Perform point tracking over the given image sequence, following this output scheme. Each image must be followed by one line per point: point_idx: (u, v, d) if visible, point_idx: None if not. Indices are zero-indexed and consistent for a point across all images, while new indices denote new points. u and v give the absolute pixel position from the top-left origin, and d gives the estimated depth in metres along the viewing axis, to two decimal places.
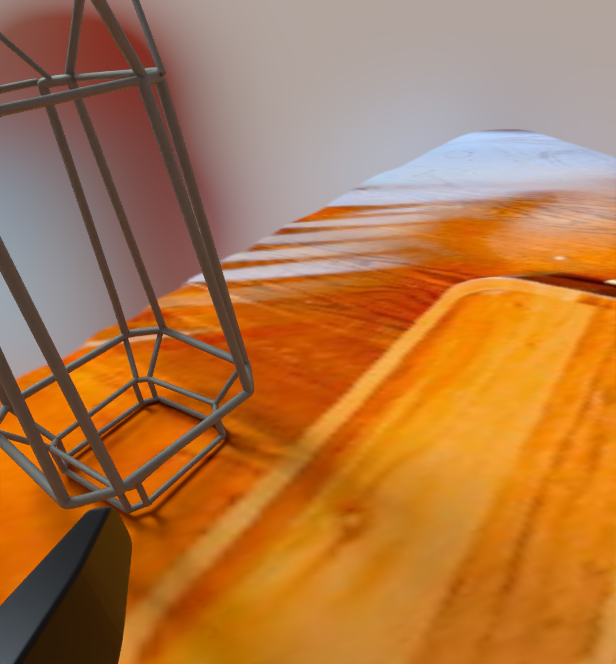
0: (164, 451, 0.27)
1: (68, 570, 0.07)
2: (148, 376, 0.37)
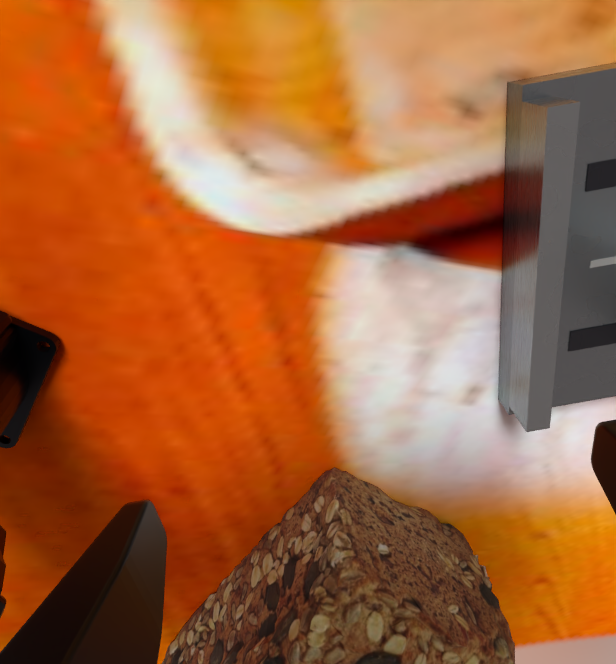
0: None
1: (111, 563, 0.07)
2: None
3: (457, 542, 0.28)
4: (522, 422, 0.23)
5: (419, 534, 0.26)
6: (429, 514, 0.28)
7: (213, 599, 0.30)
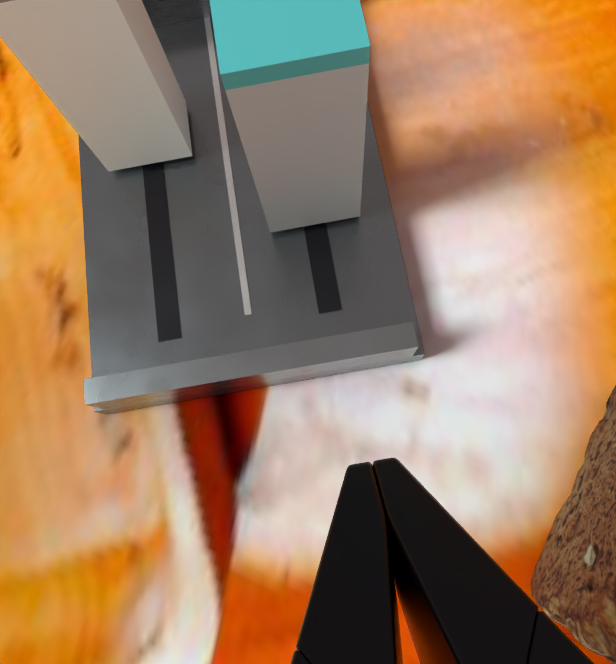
0: None
1: (375, 519, 0.07)
2: None
3: None
4: (412, 349, 0.20)
5: (596, 471, 0.19)
6: (593, 435, 0.21)
7: None
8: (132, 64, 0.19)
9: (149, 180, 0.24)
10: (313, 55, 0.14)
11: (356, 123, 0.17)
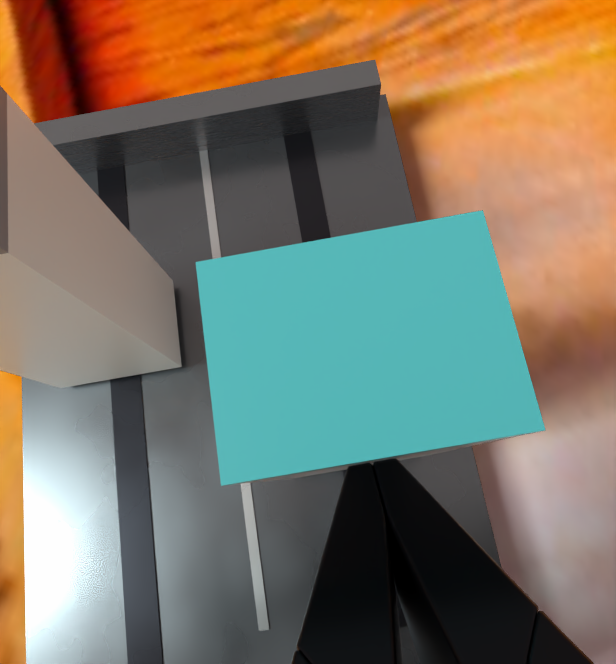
0: None
1: (374, 519, 0.07)
2: None
3: None
4: None
5: None
6: None
7: None
8: (77, 317, 0.11)
9: (118, 400, 0.17)
10: (422, 449, 0.06)
11: None
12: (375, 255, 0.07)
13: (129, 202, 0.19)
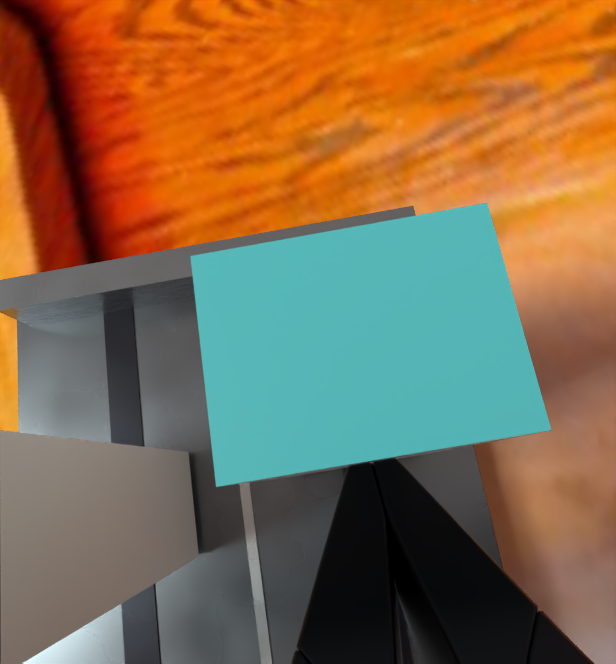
0: None
1: (374, 519, 0.07)
2: None
3: None
4: None
5: None
6: None
7: None
8: None
9: None
10: (424, 450, 0.06)
11: None
12: (376, 249, 0.07)
13: (139, 352, 0.17)
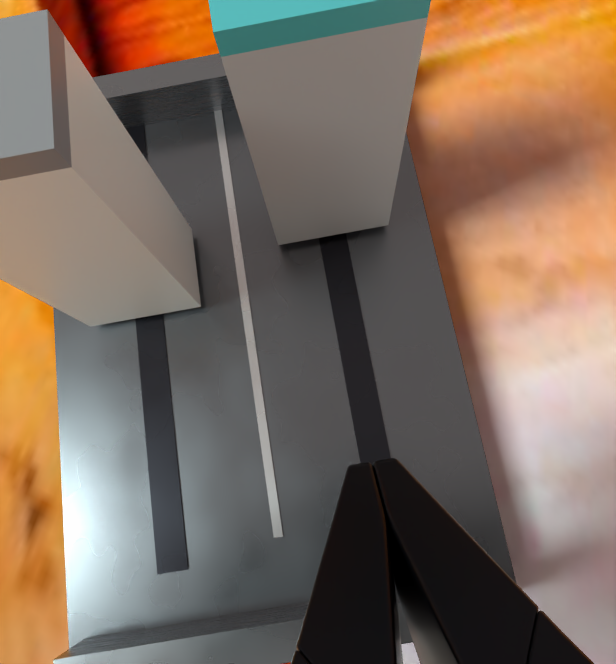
0: None
1: (374, 518, 0.07)
2: None
3: None
4: None
5: None
6: None
7: None
8: (117, 241, 0.13)
9: (143, 337, 0.19)
10: (349, 3, 0.09)
11: (398, 106, 0.12)
12: None
13: (149, 158, 0.20)
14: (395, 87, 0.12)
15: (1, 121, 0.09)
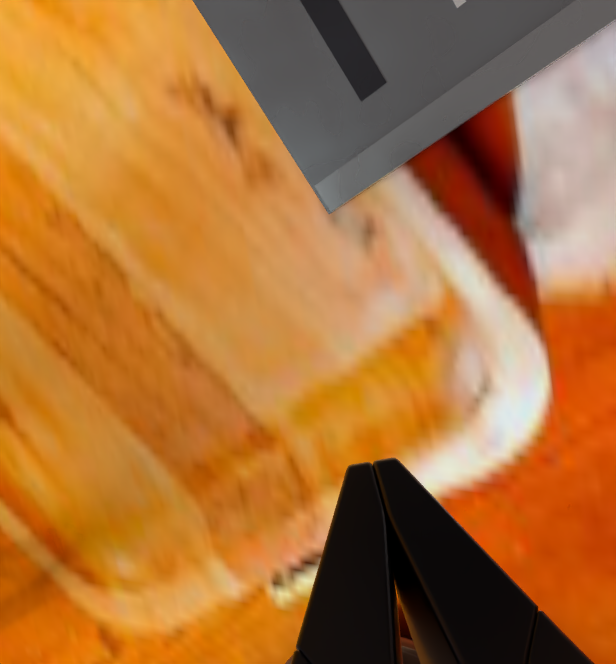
0: None
1: (374, 519, 0.07)
2: None
3: None
4: None
5: None
6: None
7: None
8: None
9: None
10: None
11: None
12: None
13: None
14: None
15: None
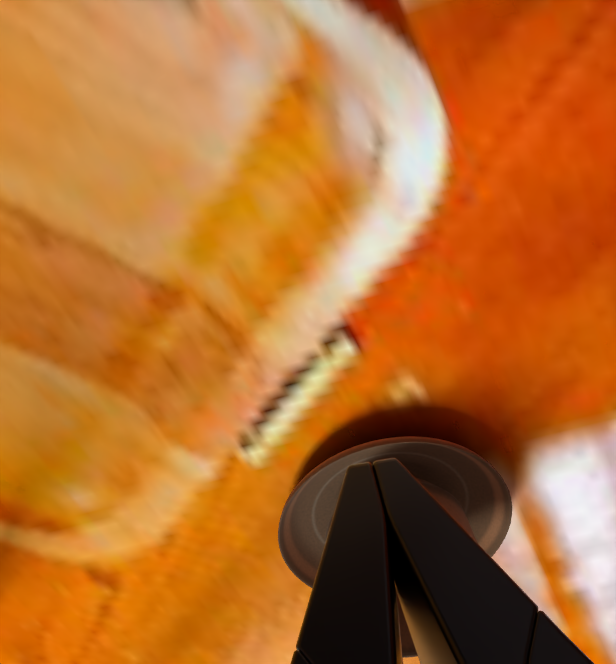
0: None
1: (374, 519, 0.07)
2: None
3: None
4: None
5: None
6: None
7: None
8: None
9: None
10: None
11: None
12: None
13: None
14: None
15: None
